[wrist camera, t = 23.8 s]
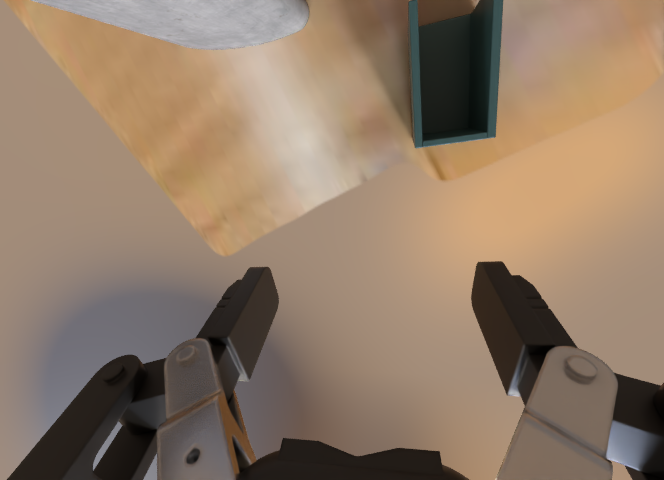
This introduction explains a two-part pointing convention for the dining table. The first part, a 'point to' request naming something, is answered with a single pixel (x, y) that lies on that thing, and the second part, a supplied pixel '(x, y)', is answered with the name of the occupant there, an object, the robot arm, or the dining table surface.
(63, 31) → the dining table surface
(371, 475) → the robot arm
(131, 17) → the hip flask
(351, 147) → the dining table surface
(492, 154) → the dining table surface
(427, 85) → the teal open box
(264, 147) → the dining table surface
